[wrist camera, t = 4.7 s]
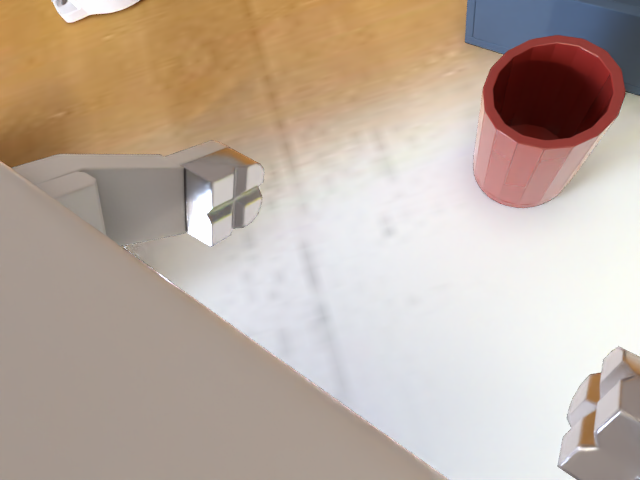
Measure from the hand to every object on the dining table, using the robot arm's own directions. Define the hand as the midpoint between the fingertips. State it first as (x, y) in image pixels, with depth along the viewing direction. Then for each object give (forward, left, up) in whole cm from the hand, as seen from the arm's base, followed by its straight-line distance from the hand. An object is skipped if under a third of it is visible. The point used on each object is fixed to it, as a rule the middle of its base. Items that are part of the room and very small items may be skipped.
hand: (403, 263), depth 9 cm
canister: (-3, +12, -20) cm, 24 cm away
